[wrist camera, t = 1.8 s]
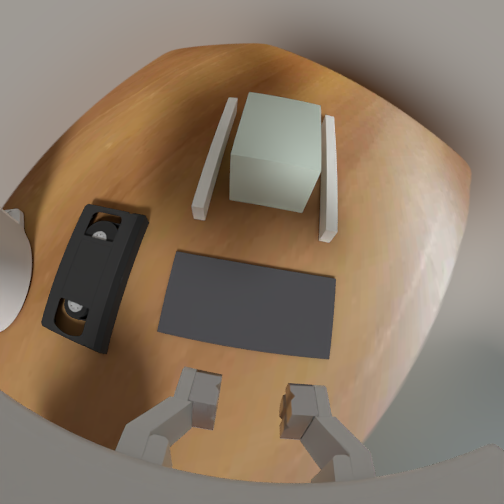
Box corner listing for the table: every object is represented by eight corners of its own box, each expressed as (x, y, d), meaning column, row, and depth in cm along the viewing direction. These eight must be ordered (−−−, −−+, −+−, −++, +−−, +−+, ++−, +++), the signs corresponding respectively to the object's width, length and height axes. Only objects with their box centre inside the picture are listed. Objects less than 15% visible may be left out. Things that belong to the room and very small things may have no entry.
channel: (158, 331, 24) (150, 328, 22) (222, 110, 36) (223, 96, 33) (327, 359, 24) (337, 358, 22) (334, 130, 36) (339, 118, 34)
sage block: (229, 200, 30) (230, 154, 23) (244, 137, 34) (249, 91, 27) (301, 213, 30) (321, 171, 23) (306, 149, 34) (320, 105, 27)
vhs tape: (92, 212, 29) (86, 203, 27) (150, 224, 29) (145, 215, 27) (50, 327, 23) (40, 324, 21) (108, 354, 23) (100, 353, 21)
